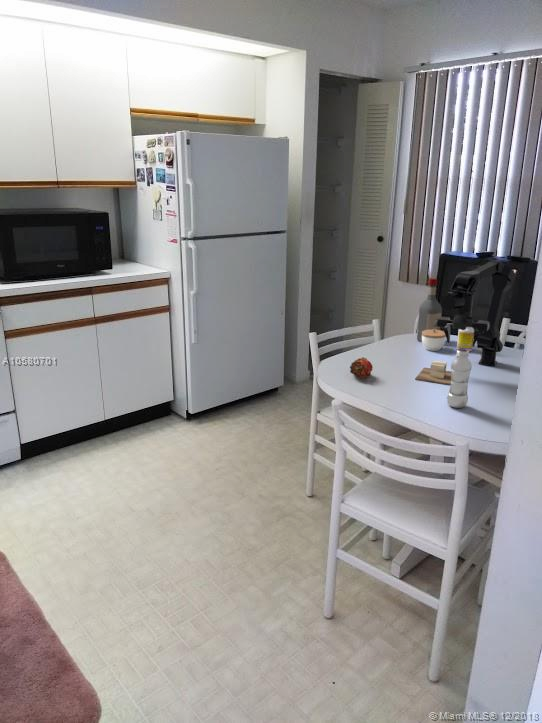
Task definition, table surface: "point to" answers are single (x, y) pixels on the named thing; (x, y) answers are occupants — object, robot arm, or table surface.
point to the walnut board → (425, 376)
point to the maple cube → (438, 369)
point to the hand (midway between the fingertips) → (460, 345)
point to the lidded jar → (433, 339)
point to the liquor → (429, 311)
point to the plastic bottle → (459, 379)
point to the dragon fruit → (361, 368)
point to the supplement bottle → (465, 339)
